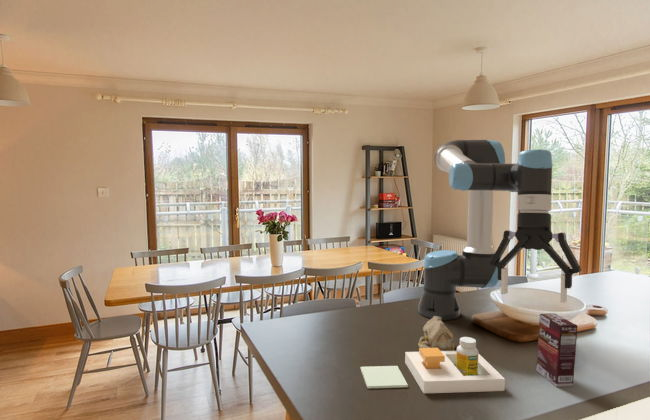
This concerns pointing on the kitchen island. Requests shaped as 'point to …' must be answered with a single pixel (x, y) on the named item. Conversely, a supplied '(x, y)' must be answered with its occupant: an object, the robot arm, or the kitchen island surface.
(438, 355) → the orange sticky note pad
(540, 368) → the supplement box
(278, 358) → the kitchen island surface
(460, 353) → the supplement bottle
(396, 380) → the mat
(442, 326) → the ceramic model
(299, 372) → the kitchen island surface
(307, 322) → the kitchen island surface
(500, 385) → the frame
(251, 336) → the kitchen island surface
